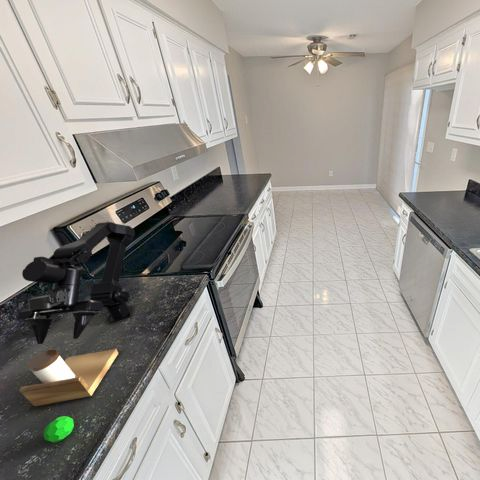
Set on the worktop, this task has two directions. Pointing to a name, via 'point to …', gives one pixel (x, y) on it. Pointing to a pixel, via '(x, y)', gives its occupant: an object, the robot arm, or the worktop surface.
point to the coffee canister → (50, 367)
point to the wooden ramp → (73, 379)
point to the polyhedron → (58, 429)
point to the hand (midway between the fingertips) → (58, 341)
